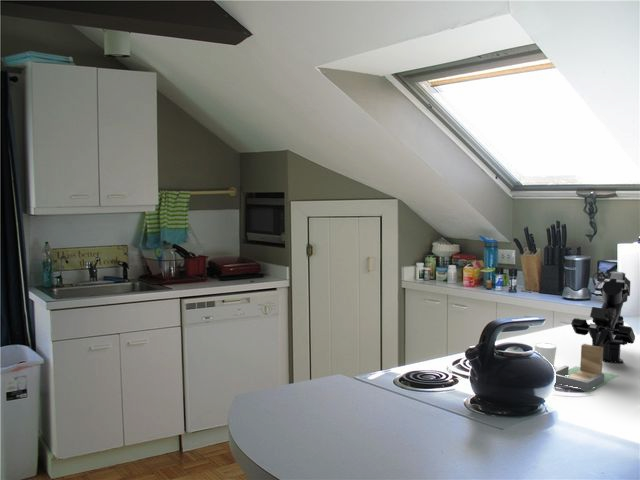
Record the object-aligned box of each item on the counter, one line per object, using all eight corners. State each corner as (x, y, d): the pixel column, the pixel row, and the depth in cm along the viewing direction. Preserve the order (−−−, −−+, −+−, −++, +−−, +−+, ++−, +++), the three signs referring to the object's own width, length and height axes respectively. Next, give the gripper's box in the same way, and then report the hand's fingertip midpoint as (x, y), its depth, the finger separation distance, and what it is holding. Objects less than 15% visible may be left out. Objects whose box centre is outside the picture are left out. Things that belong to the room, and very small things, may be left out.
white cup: (552, 363, 230) (553, 342, 229) (557, 369, 223) (558, 348, 222) (531, 362, 230) (532, 342, 230) (536, 368, 224) (537, 347, 223)
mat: (575, 367, 226) (575, 366, 226) (619, 376, 216) (619, 375, 216) (544, 382, 210) (544, 381, 210) (589, 393, 200) (589, 392, 200)
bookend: (582, 371, 220) (584, 343, 219) (601, 375, 216) (603, 347, 215) (567, 378, 212) (568, 350, 211) (586, 383, 208) (588, 354, 207)
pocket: (564, 373, 218) (564, 365, 218) (603, 382, 209) (604, 374, 209) (547, 381, 210) (547, 373, 209) (587, 391, 201) (587, 382, 201)
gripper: (575, 293, 226) (558, 332, 219) (633, 301, 213) (618, 343, 206) (583, 313, 232) (567, 351, 226) (641, 322, 219) (626, 363, 213)
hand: (593, 352), depth 217 cm, fingers closed, pressing on bookend
